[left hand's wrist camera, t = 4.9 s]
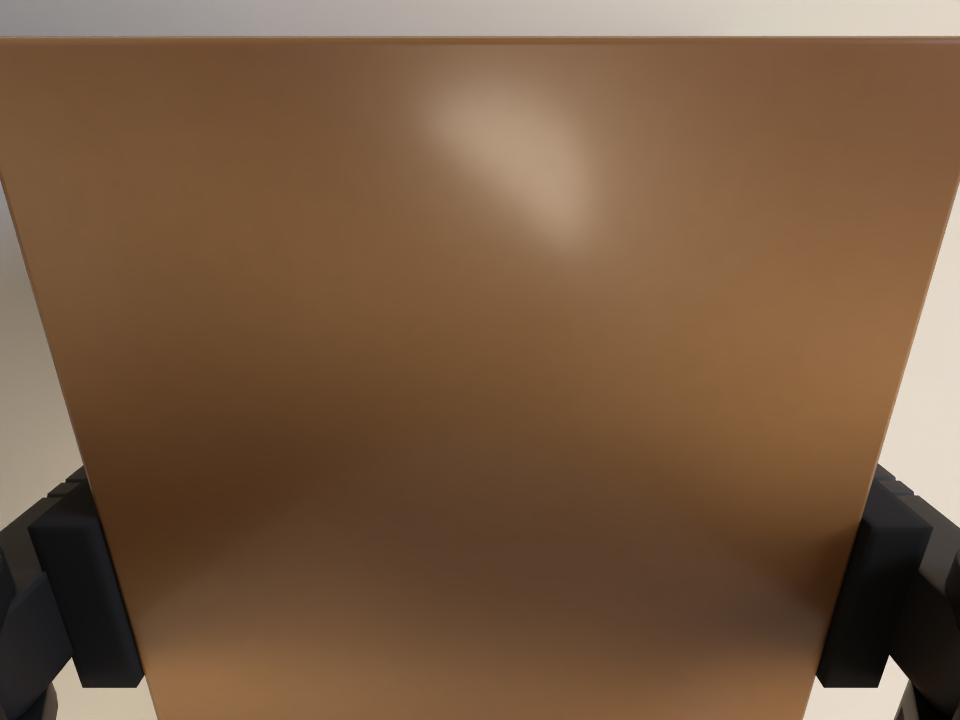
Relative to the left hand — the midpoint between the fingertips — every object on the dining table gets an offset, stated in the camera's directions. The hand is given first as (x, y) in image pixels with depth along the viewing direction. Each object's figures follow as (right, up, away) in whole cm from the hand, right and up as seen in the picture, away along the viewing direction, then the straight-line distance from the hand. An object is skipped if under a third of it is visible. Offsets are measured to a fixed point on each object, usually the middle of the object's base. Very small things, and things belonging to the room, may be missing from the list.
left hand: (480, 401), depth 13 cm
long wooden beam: (0, -22, +9) cm, 23 cm away
